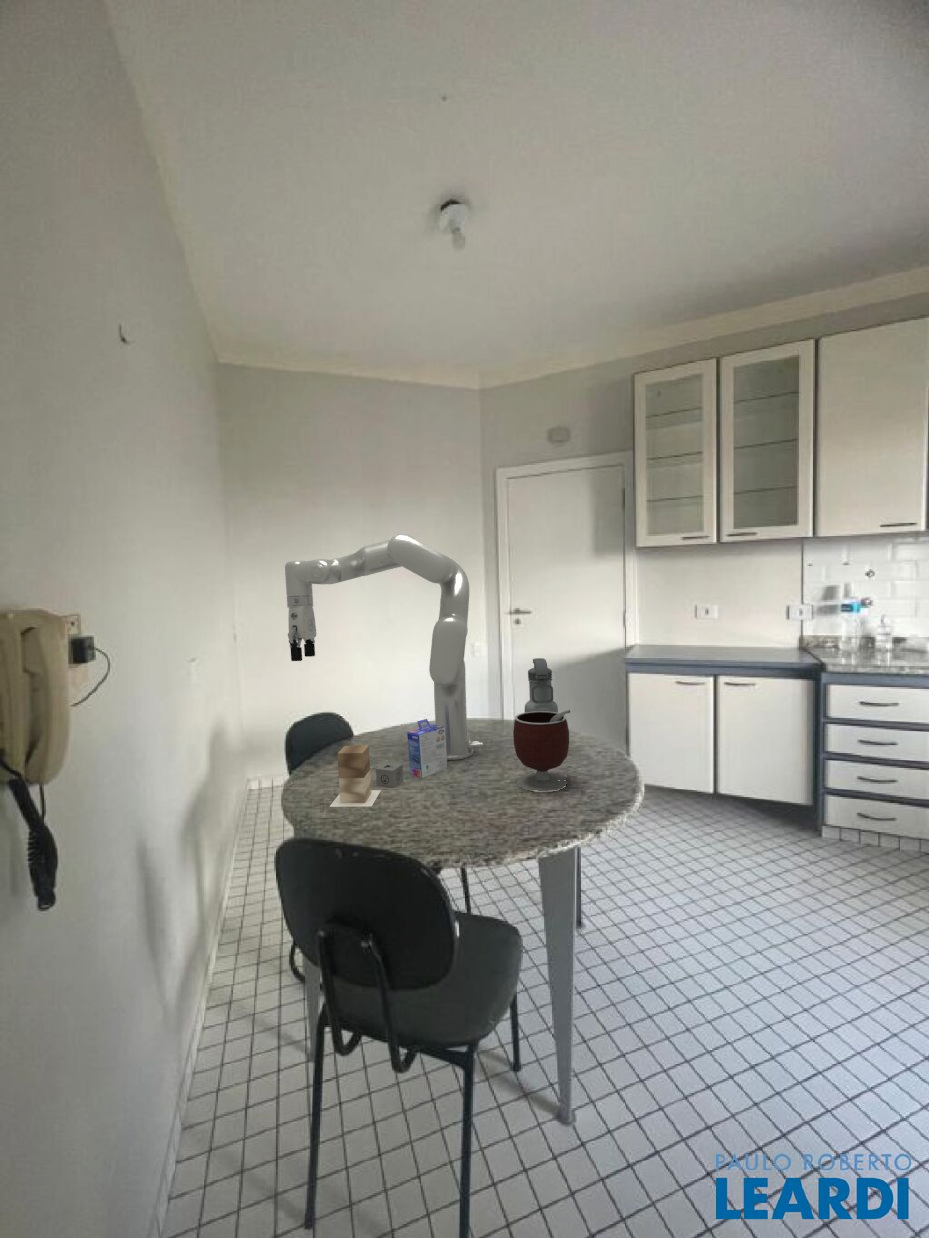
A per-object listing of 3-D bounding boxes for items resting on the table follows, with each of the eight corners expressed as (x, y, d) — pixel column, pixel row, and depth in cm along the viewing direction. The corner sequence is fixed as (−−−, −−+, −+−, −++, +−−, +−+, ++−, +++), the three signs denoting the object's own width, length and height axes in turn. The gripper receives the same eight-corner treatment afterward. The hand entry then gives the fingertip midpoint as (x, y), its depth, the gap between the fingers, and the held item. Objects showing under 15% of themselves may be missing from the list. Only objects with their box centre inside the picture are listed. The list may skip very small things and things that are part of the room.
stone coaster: (381, 792, 138) (381, 790, 138) (371, 808, 128) (371, 806, 128) (342, 792, 139) (342, 790, 139) (329, 809, 129) (329, 806, 129)
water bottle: (561, 758, 159) (559, 661, 157) (527, 759, 159) (524, 663, 157) (556, 747, 169) (553, 657, 167) (524, 749, 169) (521, 658, 167)
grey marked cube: (386, 781, 146) (385, 762, 146) (403, 783, 144) (402, 764, 144) (376, 787, 142) (375, 768, 141) (393, 790, 140) (392, 770, 139)
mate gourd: (503, 785, 139) (501, 707, 138) (536, 770, 149) (533, 697, 148) (555, 800, 129) (553, 715, 127) (586, 783, 139) (584, 704, 137)
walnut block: (370, 769, 136) (368, 745, 135) (363, 777, 130) (362, 752, 130) (346, 769, 136) (344, 745, 136) (338, 778, 130) (337, 753, 130)
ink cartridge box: (434, 765, 157) (432, 715, 156) (448, 769, 153) (446, 718, 152) (408, 775, 150) (405, 723, 149) (422, 780, 146) (419, 726, 145)
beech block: (371, 793, 136) (370, 769, 136) (365, 802, 130) (363, 777, 130) (347, 793, 137) (346, 769, 136) (340, 803, 131) (338, 778, 130)
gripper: (300, 602, 157) (303, 662, 158) (322, 600, 174) (325, 654, 176) (275, 603, 158) (278, 663, 159) (300, 601, 175) (303, 655, 176)
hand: (303, 658), depth 167 cm, fingers open, 9 cm apart
